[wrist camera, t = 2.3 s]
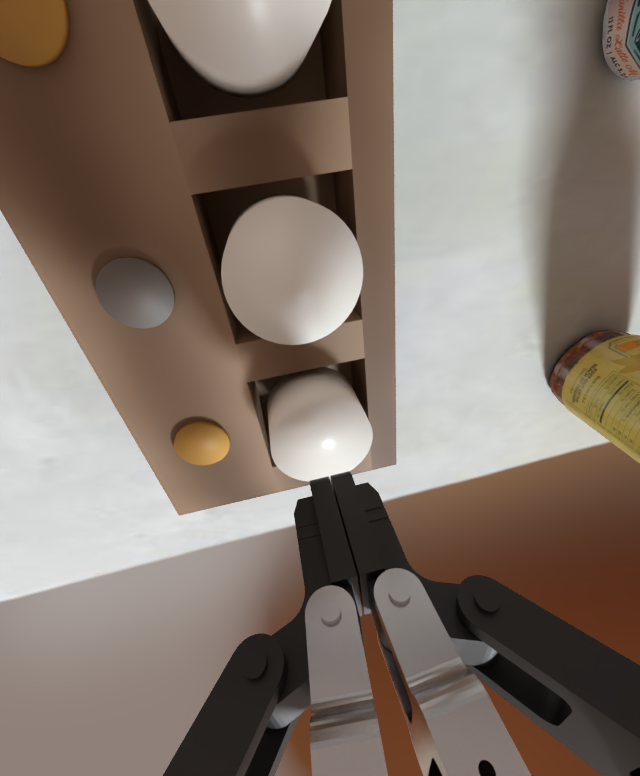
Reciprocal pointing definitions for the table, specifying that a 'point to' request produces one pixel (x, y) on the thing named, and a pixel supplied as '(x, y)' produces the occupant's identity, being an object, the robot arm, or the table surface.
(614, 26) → the beer can
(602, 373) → the sauce bottle
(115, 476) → the table surface
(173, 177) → the button board
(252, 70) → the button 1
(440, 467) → the table surface
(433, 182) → the table surface
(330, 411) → the button
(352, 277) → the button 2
